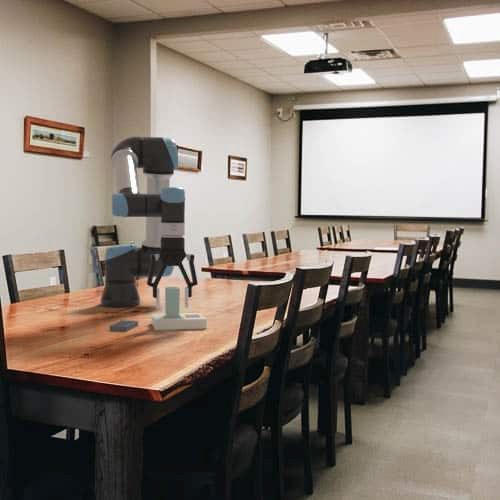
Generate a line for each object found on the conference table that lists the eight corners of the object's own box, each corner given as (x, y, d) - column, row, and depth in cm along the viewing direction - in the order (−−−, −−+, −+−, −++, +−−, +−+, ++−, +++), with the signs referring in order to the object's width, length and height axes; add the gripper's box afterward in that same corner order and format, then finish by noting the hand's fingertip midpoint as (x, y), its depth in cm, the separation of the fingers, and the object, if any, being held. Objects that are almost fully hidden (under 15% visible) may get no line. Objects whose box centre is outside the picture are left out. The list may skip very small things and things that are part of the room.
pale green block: (165, 324, 208) (165, 286, 207) (177, 324, 209) (178, 286, 208) (166, 326, 204) (166, 287, 203) (179, 326, 205) (179, 287, 204)
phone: (121, 326, 208) (121, 320, 207) (138, 327, 207) (138, 320, 206) (109, 332, 198) (109, 325, 198) (126, 332, 197) (126, 326, 197)
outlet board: (151, 323, 211) (151, 313, 211) (200, 321, 215) (200, 312, 215) (154, 330, 199) (154, 319, 199) (206, 328, 203) (206, 318, 203)
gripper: (139, 236, 199) (139, 310, 200) (207, 237, 204) (207, 308, 205) (137, 235, 206) (137, 306, 207) (203, 236, 211) (203, 305, 212)
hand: (172, 307), depth 206 cm, fingers open, 8 cm apart
